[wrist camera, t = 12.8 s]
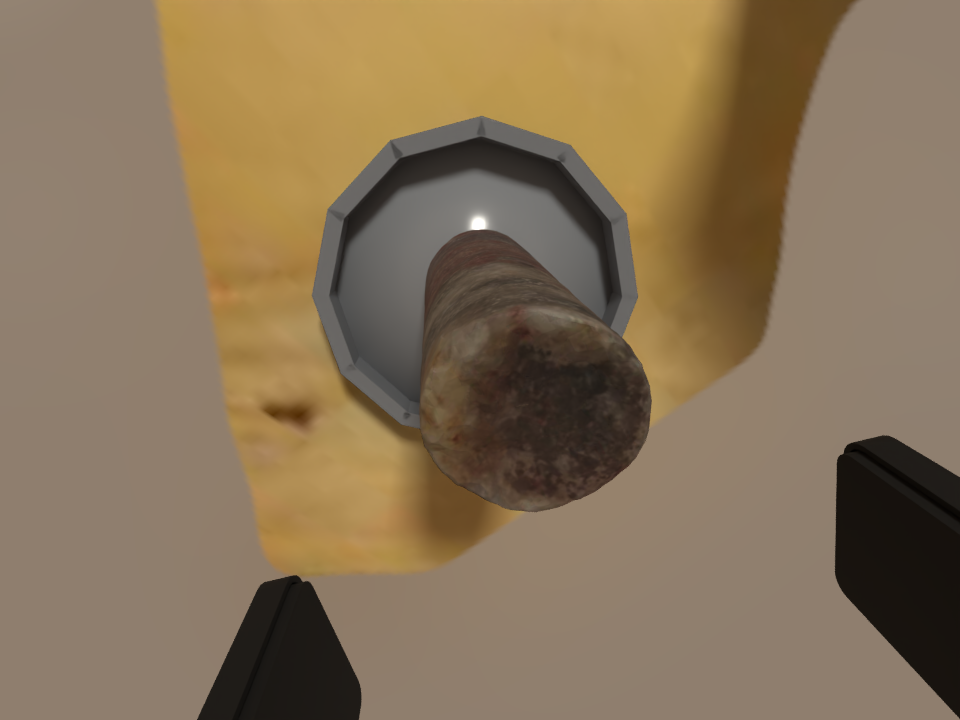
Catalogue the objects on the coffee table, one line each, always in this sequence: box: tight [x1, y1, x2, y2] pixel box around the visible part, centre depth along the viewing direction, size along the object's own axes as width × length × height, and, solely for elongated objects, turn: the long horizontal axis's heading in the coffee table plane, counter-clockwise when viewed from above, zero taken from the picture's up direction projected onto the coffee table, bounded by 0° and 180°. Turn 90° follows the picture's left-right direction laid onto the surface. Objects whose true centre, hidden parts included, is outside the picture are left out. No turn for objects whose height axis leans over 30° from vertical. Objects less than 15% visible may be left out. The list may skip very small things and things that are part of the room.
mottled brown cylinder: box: [419, 229, 652, 512], centre depth 24 cm, size 8×7×20 cm
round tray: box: [312, 116, 638, 429], centre depth 33 cm, size 20×20×3 cm
